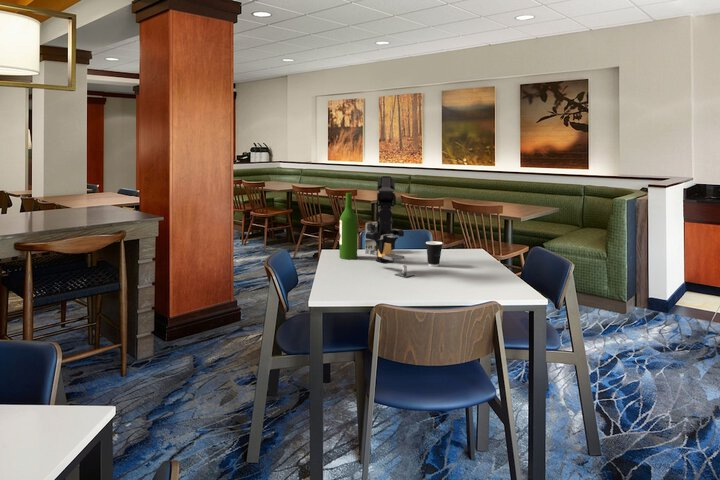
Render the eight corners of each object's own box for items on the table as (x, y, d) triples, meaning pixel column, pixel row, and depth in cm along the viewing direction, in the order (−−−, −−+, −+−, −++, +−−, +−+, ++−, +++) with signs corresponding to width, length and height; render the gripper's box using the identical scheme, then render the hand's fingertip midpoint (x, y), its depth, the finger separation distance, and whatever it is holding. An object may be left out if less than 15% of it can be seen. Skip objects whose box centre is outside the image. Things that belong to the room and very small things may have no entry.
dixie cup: (439, 267, 240) (440, 244, 238) (423, 266, 243) (423, 243, 241) (443, 264, 247) (444, 241, 245) (427, 263, 250) (428, 240, 248)
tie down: (362, 253, 238) (362, 241, 237) (373, 252, 242) (373, 239, 241) (393, 260, 223) (393, 247, 222) (404, 258, 227) (404, 245, 226)
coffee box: (376, 253, 272) (377, 223, 269) (364, 253, 273) (365, 223, 270) (379, 250, 281) (380, 221, 278) (367, 250, 282) (368, 220, 279)
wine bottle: (337, 256, 264) (338, 192, 259) (354, 255, 266) (355, 192, 261) (341, 259, 256) (341, 193, 250) (359, 259, 258) (359, 193, 252)
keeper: (404, 273, 228) (404, 263, 227) (414, 275, 223) (414, 265, 223) (394, 275, 224) (394, 264, 223) (404, 277, 219) (404, 267, 219)
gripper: (387, 215, 241) (387, 248, 243) (357, 218, 229) (357, 253, 231) (405, 217, 233) (404, 252, 235) (374, 220, 221) (373, 256, 223)
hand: (384, 253), depth 231 cm, fingers closed on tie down, 4 cm apart
